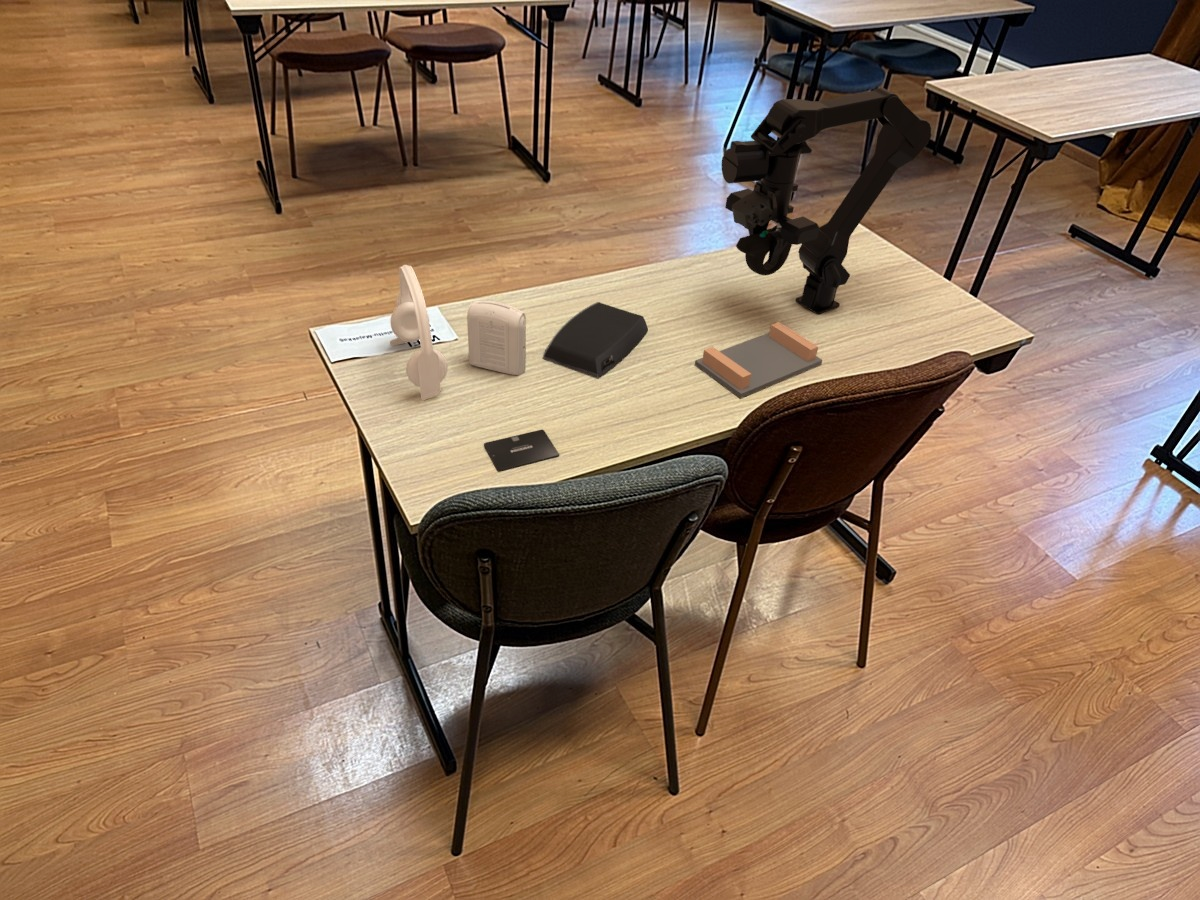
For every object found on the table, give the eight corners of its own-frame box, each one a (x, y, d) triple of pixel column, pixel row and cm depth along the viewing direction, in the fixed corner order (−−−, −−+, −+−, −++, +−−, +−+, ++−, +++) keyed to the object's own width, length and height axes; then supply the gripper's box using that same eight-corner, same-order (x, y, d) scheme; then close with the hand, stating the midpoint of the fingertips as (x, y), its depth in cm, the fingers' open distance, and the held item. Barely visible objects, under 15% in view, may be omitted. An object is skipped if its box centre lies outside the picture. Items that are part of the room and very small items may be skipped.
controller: (793, 271, 161) (801, 220, 155) (744, 285, 155) (751, 233, 149) (777, 263, 164) (784, 213, 158) (729, 277, 158) (735, 226, 152)
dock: (774, 334, 159) (777, 318, 157) (821, 364, 152) (825, 348, 150) (694, 365, 150) (697, 348, 148) (740, 398, 143) (743, 381, 140)
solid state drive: (483, 446, 130) (483, 443, 130) (543, 432, 134) (543, 428, 133) (498, 473, 125) (498, 470, 125) (560, 458, 129) (560, 454, 128)
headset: (452, 399, 139) (445, 304, 128) (409, 406, 137) (398, 310, 125) (428, 337, 153) (420, 247, 142) (389, 343, 151) (377, 251, 140)
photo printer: (529, 365, 147) (529, 303, 140) (520, 378, 144) (519, 315, 136) (475, 353, 150) (472, 292, 142) (465, 366, 146) (461, 303, 138)
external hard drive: (538, 359, 150) (538, 340, 147) (592, 313, 163) (592, 295, 161) (601, 382, 145) (602, 362, 143) (651, 333, 159) (653, 314, 156)
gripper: (709, 168, 150) (698, 249, 160) (783, 205, 138) (767, 290, 148) (754, 157, 155) (741, 236, 165) (829, 193, 144) (810, 275, 154)
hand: (763, 258), depth 158 cm, fingers closed on controller, 4 cm apart
